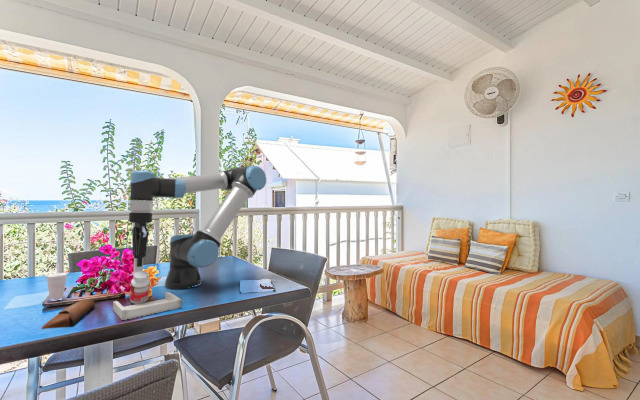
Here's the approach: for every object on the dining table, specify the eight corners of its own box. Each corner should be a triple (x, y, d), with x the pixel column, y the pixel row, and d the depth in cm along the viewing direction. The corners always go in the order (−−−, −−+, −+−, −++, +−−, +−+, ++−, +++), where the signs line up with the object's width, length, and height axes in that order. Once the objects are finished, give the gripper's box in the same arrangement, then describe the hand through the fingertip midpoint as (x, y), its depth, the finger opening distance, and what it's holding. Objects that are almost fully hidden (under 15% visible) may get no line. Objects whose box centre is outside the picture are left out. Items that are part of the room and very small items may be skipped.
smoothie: (54, 303, 116) (55, 265, 116) (40, 302, 117) (41, 264, 118) (71, 298, 122) (72, 262, 123) (58, 297, 124) (59, 261, 124)
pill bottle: (132, 293, 121) (134, 268, 118) (150, 295, 123) (152, 270, 119) (127, 304, 115) (128, 278, 112) (145, 305, 117) (147, 280, 114)
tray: (168, 299, 123) (168, 291, 123) (181, 308, 114) (181, 299, 114) (113, 310, 110) (113, 301, 110) (122, 320, 101) (123, 311, 101)
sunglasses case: (66, 309, 110) (78, 292, 111) (86, 318, 112) (98, 301, 113) (39, 329, 93) (53, 309, 94) (63, 339, 95) (77, 319, 96)
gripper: (125, 211, 121) (122, 273, 120) (134, 212, 112) (131, 279, 111) (146, 211, 126) (143, 270, 126) (157, 212, 117) (154, 276, 116)
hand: (138, 274), depth 118 cm, fingers closed
